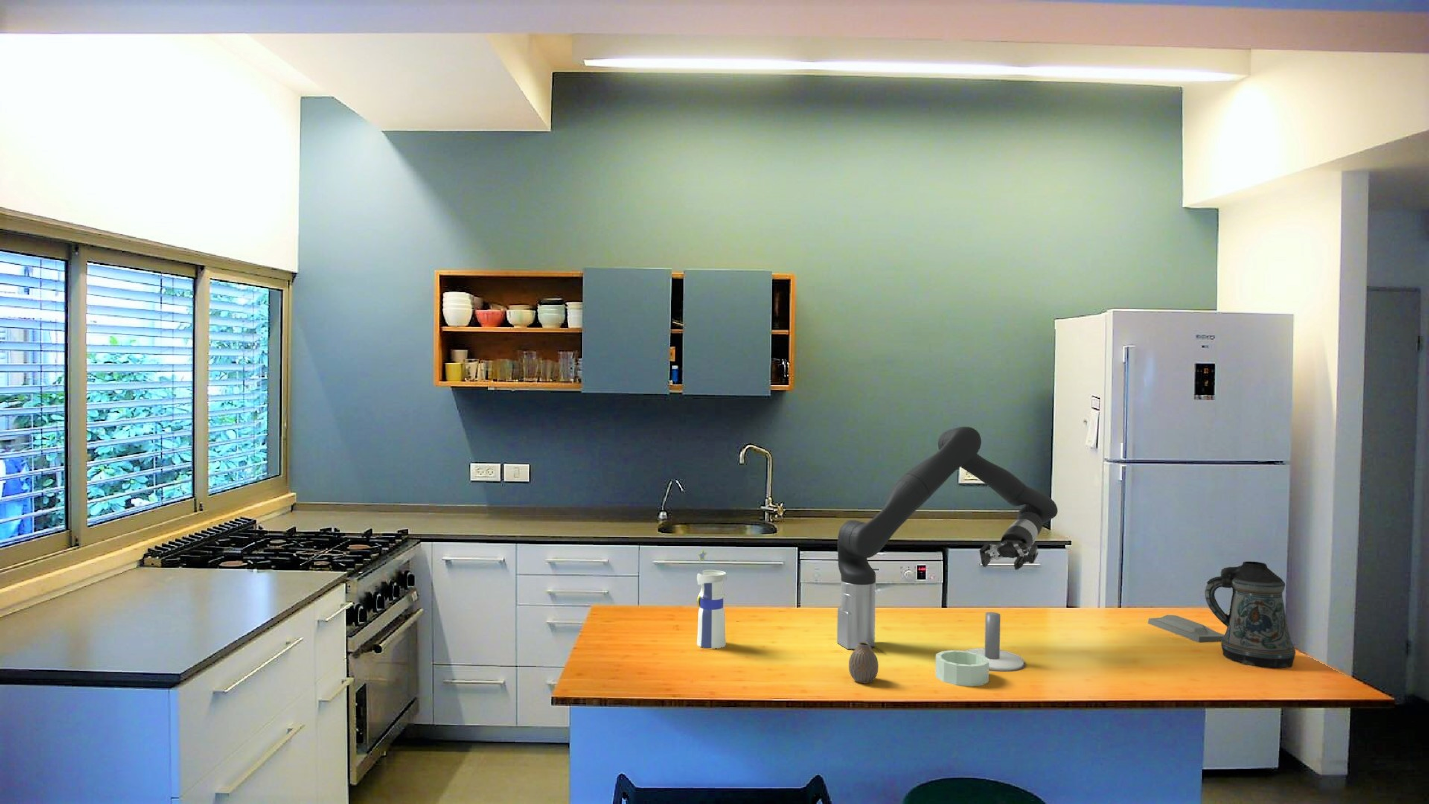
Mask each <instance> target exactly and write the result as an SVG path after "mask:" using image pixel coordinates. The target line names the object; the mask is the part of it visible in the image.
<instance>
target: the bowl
mask: <svg viewBox="0 0 1429 804" xmlns="http://www.w3.org/2000/svg"><path fill="white" fill-rule="evenodd" d="M989 673H990V671H989V661H988V658H987V657H985V656H983V655H980V654H977V653H973V652H968V651H966V650H954V649H952V650H951V649H950V650H942V651H940V652H938V653H935V678H936V679H938V680H940V681H941V682H943V683H945V684H950V685H954V686H962V687H977V686H979V687H980V686H983V685H986V684H987V683H989V680H990V678H989V677H990V674H989Z"/></svg>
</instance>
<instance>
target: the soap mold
mask: <svg viewBox="0 0 1429 804" xmlns="http://www.w3.org/2000/svg"><path fill="white" fill-rule="evenodd" d="M1147 624H1149V625H1151V626H1154V627H1157V628H1158V629H1162V630H1164V631H1167V632H1169V633H1172V634H1175V635H1178V636H1180V637H1183V638H1184V639H1185V638H1186V639H1189V640H1191V641H1194V642H1197V643H1212V642H1221V640H1222V639H1223V637H1224V635H1225V633H1224V634H1223V633H1220V632H1219V631H1216V630H1214V629H1212V628H1210V627H1209V626H1207V625H1204V624H1202V623H1200V622H1196V621H1193V620H1191V619H1187V618H1184V617H1183V616H1179V615H1175V614H1165V615H1164V616H1162V617H1149V618H1148V621H1147Z"/></svg>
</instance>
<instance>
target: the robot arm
mask: <svg viewBox="0 0 1429 804" xmlns="http://www.w3.org/2000/svg"><path fill="white" fill-rule="evenodd" d="M981 437H982V436H981V435H980V433H979V432H978V430H977V429H975V428H973V427H971V426H959V427H956V428H952V429H949V430H947V431H944V432H942V433H941V435H940V436H939V437H938V440H937V448H938V450H937V451H936V453H933V455H932V456H930V457H928V458H926V459H924V460H923V461H921V462H920V463H918V464H916V465H915V466H913V467H912V468H911V469H909V470H908V471H907V472H905V473H904V474H903V475H902V476H901V477H900V478H899V479H898V480H896V482H895V483H894V484H893V485H892V487H891V489H890V491H889V493H888V495H887V498H886V503H885V505H884V506H883V508H882V509H881V510H880V511H879V512H878V513H877V514H876V515H875V516H874V517H872V518H871V520H869V521H867V522H865V521H860V520H855V519H851V520H847V521H846V522H844V523H843V524H842V525H841V527H840V528H839V531H838V535H837V566H838V570H839V573H840V607H838V608H837V617H836V618H837V625H836V626H837V627H836V628H837V629H836V631H837V632H836V633H837V634H836V635H837V636H836V638H837V639H836V643H837V644H839V645H840V646H842V647H844V648H845V649H848V650H849V649H850V650H855V649H856V648H857V646H858V644H859V643H861V642H865V643H868V644H869V645H870V648H871V649H872V648H874V647H875V645H876V597H877V596H876V595H877V594H876V591H877V589H876V585H877V584H876V583H877V582H876V581H877V580H876V579H877V573H876V571H875V570H874V569H873V567H872V566H871V565H870V563H869V560H868V559H870V558H873V557H874V556H875V555H877V554H879V552H880V551H881V550H882V549H883V548H884V547H885V545H886V544H887V543H888V541H890V539H891V538H892V537H893V536H894V534H895V533H896V532H897V530H898V529H900V527H901V526H902V525H903V524H904V523H905V522H906V521H907V520H908V519H909V518H910V517H911V516H912V515H913V514H914V513H915V512H916V511H917V510H919V509H920V508H921V507H922V506H923V505H924V504H925V503H926V502H927V501H928V500H929V499H930V498H931V497H932V496H933V495H934V494H935V492H937V490H938V489H940V487H941V486H943V485H944V483H945V482H947V480H948V479H949V478H950V477H951V476H952V475H953V474H954V473H955V472H956V471H957V470H959V469H960V468H961V469H962V470H964V471H966V472H968V473H969V474H970V475H972V476H974V477H975V478H977V479H979V481H981V482H982V483H984V484H985V485H986V486H988V488H991V490H993V491H994V492H995V493H996V494H997V495H999V496H1000V497H1001V498H1002V499H1003V500H1005V501H1006V502H1007V503H1008V504H1010V506H1013V507H1020V506H1022V507H1021V508H1020V509H1019V510H1018V512H1017V518H1016V519H1015V521H1014V522H1013V523H1011V524H1010V526H1009V527H1008V528H1007V529H1006V531H1005V532H1004V534H1003V535H1002V537H1001V539H1000V541H999V542H998V543H997V544H992V541H986V543H984V545H983V546H982V547H981V548H980V549H979V556H980V564H981V565H982V567H984V568H987V567H988V565H989V564H990V563H991V561H993V560H996V561H998V560H1000V559H1003V558H1010V559H1014V558H1015V560H1014V561H1013V567H1014V570H1016V571H1018V570H1019V569H1021V568H1023V566H1024V565H1025V564H1027V563H1029V564H1033V563H1035V561H1036V559H1037V557H1038V555H1039V549H1038V545H1037V544H1034V543H1035V542H1036V540H1037V537H1038V536H1039V535H1040V533H1041V531H1042V529H1043V525H1044V524H1045V523H1047V522H1049V521H1051V520H1053V519H1054V518H1056V516H1057V515H1058V510H1059V509H1058V506H1057V504H1056V502H1055V501H1054V500H1053V499H1052V498H1051V497H1049V496H1048V495H1046V494H1044V493H1042V492H1040V491H1038V490H1036V489H1034V488H1032V487H1030V486H1028V485H1026V484H1025V483H1024V482H1023V481H1021V480H1020V479H1019V478H1018V477H1017V476H1015V475H1014V474H1013V473H1011V472H1010V471H1009V470H1007V469H1005V468H1003V467H1001V466H999V465H997V464H996V463H993V462H991V461H989V460H988V459H986V458H984V457H983V456H981V455H979V454H978V453H979V452H980V449H981V446H982V439H981ZM1023 505H1024V506H1023ZM991 554H992V555H991Z"/></svg>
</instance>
